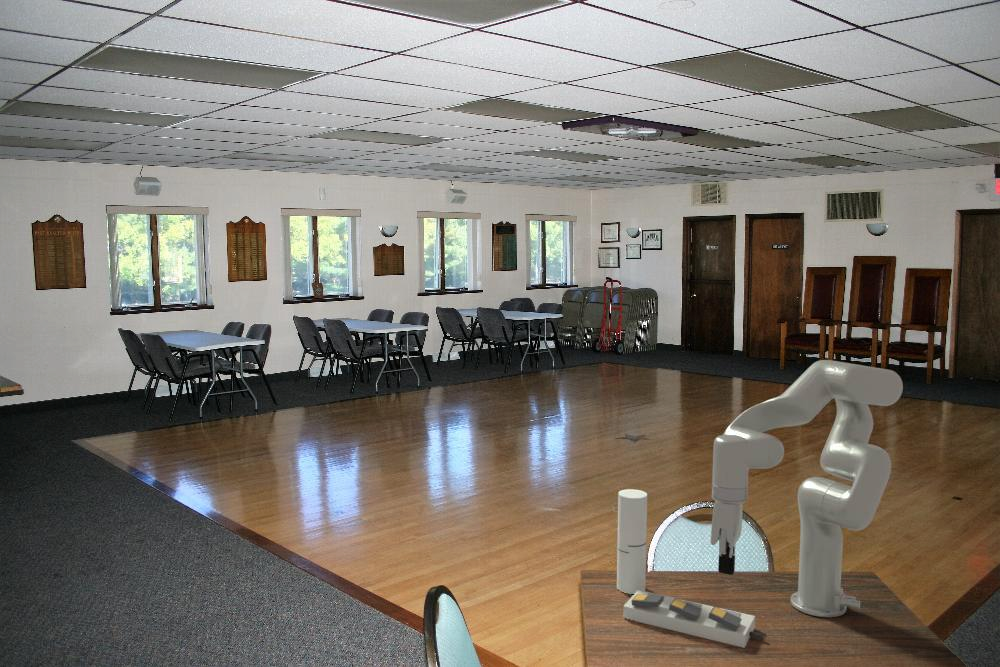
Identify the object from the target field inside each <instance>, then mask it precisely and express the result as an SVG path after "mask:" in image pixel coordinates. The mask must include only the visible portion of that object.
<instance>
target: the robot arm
mask: <svg viewBox="0 0 1000 667" xmlns="http://www.w3.org/2000/svg"><path fill="white" fill-rule="evenodd" d="M903 389H904V385H903V381H902V378H901V376H900V375H899V374H898V373H897V372H896V371H894V370H892V369H886V368H881V367H875V366H866V365H862V364H856V363H849V362H843V361H838V360H831V359H830V360H829V359H821V360H817V361H815V362H813V363H812V364H811V365H810V366H809V367H808V368H807V369H806V370H805V371H804V372H803V373H802V374H801V375H800V376H799V377H798V378H797V379H796V380H795V381H794V382H793V383H792V384H791V385H790V386H789V387H788V388H787V389H786V390H785V391H784V392H783V393H781V395H778V396H777V397H773V398H769V399H767V400H765V401H763V402H760V403H757V404H755V405H753V406H751V407H749V408H748V409H746V410H744V411H743V412H742V413H740V414H739V415H738V416H737V417H736V418H735V419H734V420H733V421H732V422H731V423H730V424H729V425H728V427H727V428H726V429H725V431H724V432H723V434H722V435H721V434H720V435H718V436H717V437H715V438H714V440H713V446H712V447H713V448H712V450H713V451H712V454H713V455H712V474H711V475H712V478H711V481H712V482H711V499H712V500H714V503H713V510H712V517H711V531H710V544H711V545H712V546H714V545H716V544H717V543H718V567H717V568H718V569H717V570H718V573H719V574H724V575H730V576H733V575H734V573H735V568H736V565H735V564H736V555H735V554H736V544H737V543H738V541H739V539H740V537H741V535H742V528H743V504H744V503H746V502H747V501H748V492H749V470H750V469H761V470H762V469H763V470H765V469H766V470H767V469H771V468H774V467H777V466H778V465H779V464H780V463H781V461H783V459H784V456H785V447H784V445H783V442H782V441H781V440H780V439H779V438H777V437H776V436H774V435H771V434H769V433H766V432H767V431H769V430H770V431H771V430H774V429H778V428H787V427H795V426H801V425H805V424H808V423H810V422H811V421H812V420H813V419H814V418H815V417H816V416H817V415H818V414H819V413H820V412H821V410H822V409H824V407H826V405H827V404H828V403H830V402H831V400H833V399H834V400H835V405H836V414H835V415H836V416H835V419H834V422H833V425H832V427H831V430H830V432H829V435H828V437H827V439H826V442H825V444H824V446H823V449H822V452H821V455H820V460H819V464H820V468H821V469H822V470H823V471H824V472H826V473H827V474H830V475H832V476H834V477H837V478H840V479H843V480H847V481H851V482H853V483H852V486H851V485H848V484H845V483H842V482H838V481H836V480H832V479H828V478H825V477H819V476H813V477H809V478H806V479H805V480H803V481H802V482H801V484H800V485H799V488H798V490H797V504H798V510H799V511H798V512H799V520H800V536H799V537H800V538H799V539H800V540H799V557H798V558H799V559H798V562H799V563H798V564H799V565H798V581H797V582H798V584H797V586H798V587H797V591H795V592H794V593H792V595H791V596H790V604H791V605H792V606H793V607H794V608H795V609H796V610H798V611H800V612H802V613H803V614H808V615H810V616H815V617H818V618H820V617H821V618H835V617H837V618H838V617H840V616H842V615H844V614H845V613H846V612H847V608H848V607H849V608H851V609H856V610H860V608H861V600H857V599H856V598H857V597H856V596H853V595H847V594H846V593H844V588H843V587H841V586H842V582H841V581H842V565H843V564H842V563H843V549H844V548H843V546H844V540H843V539H844V537H843V531H842V528H845V529H846V530H851V531H862V530H864V529H866V528H867V527H868V526H869V525H870V524H871V522H872V520H873V518H874V517H875V514H876V512H877V509H878V507H879V505H880V502H881V500H882V496H883V494H884V493H885V490H886V488H887V484H888V483H889V479H890V476H891V472H892V460H891V456H890V455H889V453H888V452H887V451H886V450H885V449H884V448H882V447H880V446H878V445H874V444H871V443H869V441H870V438H871V435H872V432H873V428H874V419H873V415H872V412H871V409H870V407H869V406H870V405H872V406H883V407H889V406H891V405H893V404H896V402H898V401H899V399H900V398H901V396H902V394H903ZM764 432H765V433H764ZM841 527H842V528H841Z"/></svg>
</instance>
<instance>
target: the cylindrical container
mask: <svg viewBox="0 0 1000 667" xmlns="http://www.w3.org/2000/svg"><path fill="white" fill-rule="evenodd" d="M617 495H618V496H617V550H616V552H617V555H616V556H617V558H616V560H617V561H616V590H617V589H619V590H620V591H622V592H624V593H628V594H635V593H636V591H637V590H641V591H646V571H647V570H646V569H647V568H646V566H647V527H648V526H647V522H648V521H647V520H648V519H647V518H648V493H647V492H646V491H644V490H641V489H632V488H627V489H622V490H619V491H618V494H617ZM620 591H619V592H620ZM624 593H623V594H624ZM628 594H627V595H628Z"/></svg>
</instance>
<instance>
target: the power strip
mask: <svg viewBox="0 0 1000 667" xmlns="http://www.w3.org/2000/svg"><path fill="white" fill-rule="evenodd" d="M637 594H647V595H660V594H658V593H654V592H650V591H646V590H645V591H641V590H637V591H636V593H635V594H634V595H631V597H630V598H629V599H628V600H627V602H625V603H624V605H623V611H622V612H623V614H622V619H625V618H626V619H625V620H629V619H630V620H629V621H633V620H634V621H633V622H637V623H642V624H646V625H650V626H653V627H658V628H661V629H665V630H670V631H674V632H677V633H681V634H687V635H691V636H693V637H694V636H695V637H699V638H703V639H707V640H709V641H710V640H711V641H715V642H719V643H723V644H726V645H732V646H735V647H740V648H743V649H745V648H746V646H747V644H748V643H749V641H750V638H751V637H753V638H757V639H760V640H764V639H765V634H762V633H759V632H755V631H754V630H755V628H756V625H755V624H756V616H755V615H753V614H748V613H743V612H740V611H735V610H729V609H724V608H721V607H719V608H720V609H722V610H724V611H726V612H728V613H731V614H733V615H735V616H737V617H739V618H741V619H742V620H741V623H740V625H739V627H738V628H737V630H736V631H735V630H733V629H731V628H729V627H726V626H724V625H722V624H720V623H718V622H716V621H714V620H712V619H710V618H708V616H709V613H710V612H711V610H712V609H713V607H714V606H712V605H707V604H702V603H700V602H694V601H690V600H686V599H681V598H677V597H674V596H673V597H672V596H667V595H664V594H662V595H663V599H664V601H663V602H662V603H661V604H660V606H659V607H647V606H632V602H631V600H632V599H633V598H634V597H635V596H636V595H637ZM675 598H676V599H679V600H681V601H684V602H686V603H689V604H691V605H694V606H696V607H699V608H701V609H702V610H701V614H700V615H699V617H698V618H697V620H693V619H691V618H688V617H686V616H683V615H681V614H678V613H676V612H673V611H671V610H669V606H670V604H671V603H672V601H673V600H674V599H675Z"/></svg>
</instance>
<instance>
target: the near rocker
mask: <svg viewBox="0 0 1000 667" xmlns="http://www.w3.org/2000/svg"><path fill="white" fill-rule="evenodd" d="M720 608H721V607H718V606H716V605H714V606H713V609H712V610H711V612H710V613H709V616H708V618H710V619H712V620H714V621H716V622H718V623H720V624H722V625H724V626H726V627H729V628H731V629H733V630H735V631H736V630H737V628H738V627H739V625H740V623H741V620H742V619H741V618H739V617H737V616H735V615H733V614H731V613H728V612H726V611H724V610H722V609H723V608H722V609H720Z"/></svg>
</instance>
